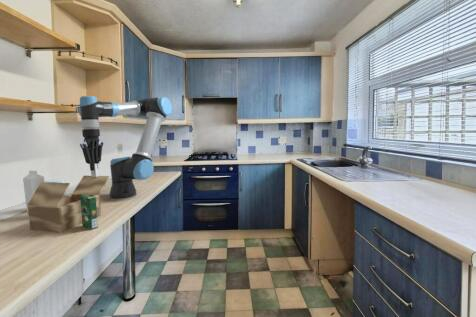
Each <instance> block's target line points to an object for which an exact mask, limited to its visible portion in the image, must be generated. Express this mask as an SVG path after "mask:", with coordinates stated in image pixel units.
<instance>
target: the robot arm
mask: <svg viewBox="0 0 476 317" xmlns="http://www.w3.org/2000/svg"><path fill="white" fill-rule="evenodd" d="M77 110H78V111H77V113H78V115H79V116H80V122H81V128H82V130H81V131H82V138H83V142H82V143H79V146H80V148H81V150H82V154H83V157H84V161H85V163H86V164H88V165H89V170H90V176H92V177H98V176H99V170H98V169H99V164H100V163H101V161H102V154H103V152H102V151H103V146H104V142H103V141H100V136H101V130H100V129H99V128H100V120H99V118H115V117H118V116H133V117H137V116H139V117H147V119H146V123H145V124H144V128H143V131H142V134H141V136H140V139H139V143H138V146H137V149H136V152H134V153H132V155H131V156H124V157H123V156H122V157H116V158H112V159H111V160H110V165H109V167H110V175H111V185H110V186H111V187H110V191H109V197H110V199H111V198H112V199H124V198H129V197H134V196H136V195H137V189H136V186H135V183H134V181H133V180H137V181H144V180H147V179H149V178H150V177H151V176H152V175H153V172H154V169H155V168H154V164H153V158H152V154H153V150H154V147H155V144H156V140H157V137H158V134H159V132H160V128H161V125H162V123H163V122H165V120H166V119H167V117H168V116H170V115H171V114H172V112H173V106H172V103H171V101H170V99H169V98H168V97H166V96H158V97H147V98H143V99H138V100H135V99H134V100H130V101H128V102H127V101H126V102H125V101H124V102H111V101H110V102H109V101H99V100H98V97H97V96H94V95H83V96H80V97H79V106H78V108H77Z"/></svg>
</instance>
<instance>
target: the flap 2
mask: <svg viewBox="0 0 476 317" xmlns="http://www.w3.org/2000/svg"><path fill="white" fill-rule="evenodd" d="M109 179H110V176H109V175H98V177H92V176H91V175H83V176H82V178H81V179H80V181H79V182H78V184H77V186H75V189H74V190H73V191H72V193H73V194H98V195H100V194H101V192H102V191H103V189H104V187H105V186H106V184H107V182H108V180H109Z"/></svg>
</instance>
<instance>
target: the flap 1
mask: <svg viewBox="0 0 476 317" xmlns="http://www.w3.org/2000/svg"><path fill="white" fill-rule="evenodd" d="M69 186H70V182H65V183H49V182H41V183H40V184H39V186H38V188H37V189H36V191H35V193H34V195H33V196H32V198H31V200H30V202H29V203H28V205H29V206H47V207H58V206H59V204H60V202H61V200H62V198H63V196H64V194H65V192H66V193H67V191H68V189H69Z"/></svg>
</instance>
